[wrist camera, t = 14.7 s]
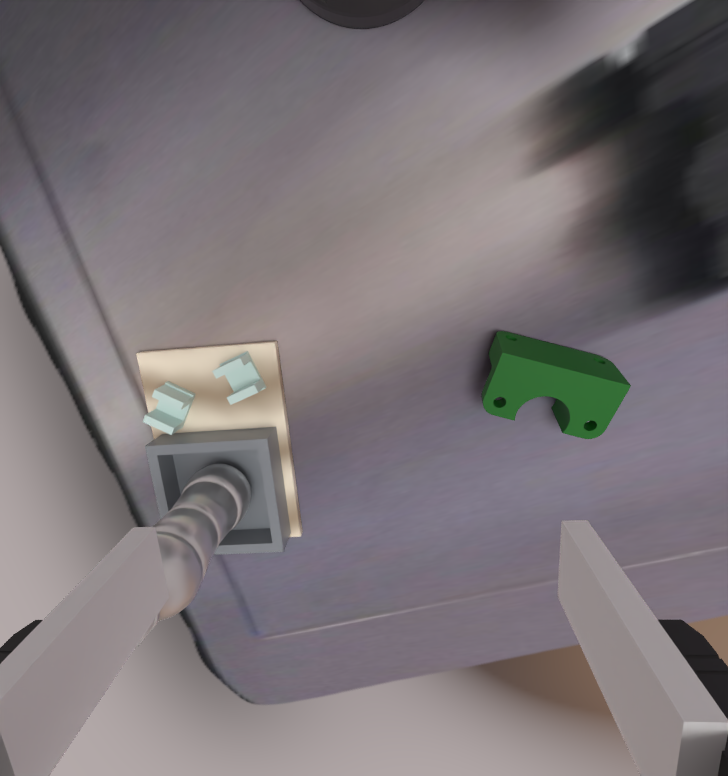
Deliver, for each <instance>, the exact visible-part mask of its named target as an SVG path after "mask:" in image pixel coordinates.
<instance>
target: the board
mask: <svg viewBox="0 0 728 776" xmlns="http://www.w3.org/2000/svg"><path fill="white" fill-rule="evenodd" d="M246 351H248V352H249V354H250V356H251V358H252V360H253V362H254V364H255V366H256V368H257V370H258V372H259V374H260V375H261V377H262V379H263V381H264V383H265V385H266V388H265V389H264V390H261V391H259V392H258V393H256V394H254V395H252V396H249V397H247V398H245V399H243V400H241V401H238V402H236V403H234V404H232V405H230V403H229V401H228V399H227V397H228V396H229V395H230V394H232V393H233V392H234V391H233V389H232V388H231V386H230V384H229V382H228V380H227V378H226V376H225V375H223V376H221V377H219V378H217V379H216V377H215V376H214V374H213V372H212V371H213V370H215V369H216V368H218V367H220V365H219V364H221V363H223V362H225V361H227V360H229V359H232V358H234V357H236V356H238V355H240V354H242V353H244V352H246ZM136 355H137V360H138V364H139V369H140V374H141V379H142V384H143V389H144V394H145V398H146V403H147V408H148V413H149V412H151V411H153V410H154V409H156V407H157V404H158V401H159V400H157V399H155V398H153V397H152V395H153V392H154V390H155V389H157V388H158V387H160V386H162V385H164V384H165V382H167V381H169V382H171V383H173V384H176V385H178V386H180V387H182V388H184V389H186V390H189V391H191V392H193V393H195V394H196V395H195V397H194V400H193V402H192V405H191V408H190V410H189V413H188V415H187V418H186V421H185V423H184V426H183V428H182V429H179V430H178V431H176V432H175V433H184V432H199V431H215V430H231V429H247V428H262V427H276V429H277V436H278V443H279V450H280V457H281V464H282V472H283V479H284V486H285V493H286V500H287V508H288V515H289V522H290V529H291V534H290V537H301V534H302V532H303V531H302V524H301V516H300V509H299V501H298V494H297V486H296V479H295V471H294V464H293V456H292V448H291V441H290V433H289V426H288V418H287V411H286V403H285V396H284V388H283V381H282V373H281V365H280V358H279V350H278V343H277V341H270V342H257V343H245V344H232V345H219V346H207V347H194V348H181V349H169V350H156V351H143V352H139V353H136ZM151 428H152V432H153V437H154V439H156V438H157V437H159V436H160V435H161V434H168V433H166V432H163V431H161V430H159V429H157V428H155V427H152V426H151Z"/></svg>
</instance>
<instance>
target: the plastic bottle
mask: <svg viewBox="0 0 728 776" xmlns="http://www.w3.org/2000/svg"><path fill="white" fill-rule="evenodd" d="M250 499H251V489H250V485H249V482H248V480H247V479H246V477H245V476H244V475H243V474H242V473H241V472H240V471H239V470H238V469H236V468H235V467H233V466H230V465H227V464H220V463H219V464H212V465H209V466H207V467H205V468H203V469H201V470H200V471H198V472H196V473H195V474H194V475H193V476H192V477H191V478H190V480H189V481H188V483H187V484H186V486H185V487H184V489H183V492H182V494H181V496H180V497H179V499H178V500H177V502H176V503H175V504H174V506H173V507H172V509H171V510H170V511H169V512H168V513H167V514H166V515H165V516H163V517H162V518H161V519H160V520H159V521H158V522H157V523H156V524H155V525H153V526H152V527H155V529H156V534H157V539H158V544H159V549H160V554H161V559H162V564H163V569H164V574H165V579H166V584H167V589H168V594H169V598H168V600H167V601H166V603H165V604H164V606H163V607H162V609H161V610H160V612H159V613H158V615H157V616H156V618H155V619H154V621H153V622H152V624H151V625H150V627H149V628H148V630H147V631H146V633H145V634H144V635H143V637H142V638H141V640H140V641H139V643H138V644H137V646H139V645H140V644H141V643H142V642H143V640H144V639H145V637H146V636H147V634H148V633H149V632H150V631H152V629H153V628H154V627H155V625H156V624H157V622H158V621H160V620H164V619H167V618H170V617H172V616H174V615H176V614H178V613H179V612H180V611H182V610H183V609H184V608H185V607H186V606H188V605H189V604H190V603H191V602H192V600H193V599H194V598H195V596H196V594H197V592H198V590H199V588H200V586H201V583H202V581H203V578H204V575H205V573H206V570H207V568H208V565H209V562H210V560H211V558H212V556H213V555H214V553H215V551H216V549H217V547H218V545H219V544H220V542H221V541H222V540H223V539H224V537H225V536H226V535H227V534H228V532H229V531H230V530H232V529H233V528H234V527H235V526H236V525H237V524H238V523H239V522H240V521H241V520H242V518H243V517H244V516H245V514H246V512H247V510H248V506H249V503H250ZM137 646H136V647H137ZM136 647H135V648H136Z"/></svg>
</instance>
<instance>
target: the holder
mask: <svg viewBox="0 0 728 776" xmlns="http://www.w3.org/2000/svg"><path fill="white" fill-rule="evenodd" d="M145 449H146V453H147V458H148V463H149V467H150V472H151V477H152V482H153V486H154V491H155V496H156V501H157V505H158V510H159V515H160V519H161V518H162V517H163V516H165V515H166V514H167V513H168V512H169V511H170V510H171V509H172V507H173V506H174V504H175V503H176V502H177V500H178V499H179V497H180V496H181V494H182V492H183V489H184V487H185V486H186V484H187V483H188V481H189V480H190V478H191V477H192V476H193V475H194V474H195V473H196V472H198V471H200V470H201V469H203V468H205V467H207V466H209V465H212V464H219V463H220V464H227V465H230V466H233V467H235V468H236V469H238V470H239V471H240V472H241V473H242V474H243V475H244V476H245V477H246V479H247V480H248V482H249V485H250V489H251V499H250V503H249V506H248V510H247V512H246V514H245V516H244V517H243V518H242V520H241V521H240V522H239V523H238V524H237V525H236V526H235V527H234V528H233V529H232V530H230V531H229V532H228V534H227V535H226V536H225V537H224V539H223V540H222V541H221V542H220V544H219V545H218V547H217V549H216V551H215V553H214V555H216V554H241V553H265V552H284V549H285V547H286V544H287V542H288V539H289V537H290V534H291V529H290V522H289V515H288V508H287V500H286V493H285V486H284V479H283V472H282V464H281V457H280V450H279V443H278V436H277V429H276V427H262V428H247V429H231V430H215V431H199V432H184V433H174V434H172V435H170V434H161V435H160V436H159V437H157V438H156V439H154V440H153V441H152V442H150V443H149V444H147V445H146V446H145Z"/></svg>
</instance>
